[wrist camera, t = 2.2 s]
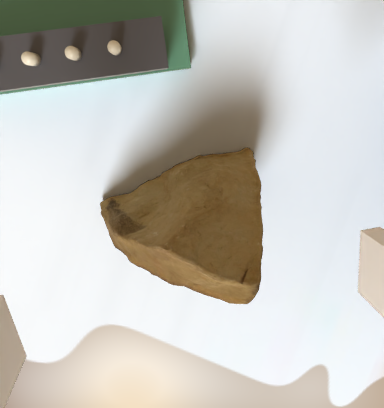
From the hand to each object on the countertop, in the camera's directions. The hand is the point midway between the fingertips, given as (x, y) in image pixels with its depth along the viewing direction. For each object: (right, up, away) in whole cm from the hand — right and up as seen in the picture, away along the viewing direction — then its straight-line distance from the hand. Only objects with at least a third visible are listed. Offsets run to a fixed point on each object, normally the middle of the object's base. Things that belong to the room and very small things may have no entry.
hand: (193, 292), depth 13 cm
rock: (-1, +4, +12) cm, 13 cm away
